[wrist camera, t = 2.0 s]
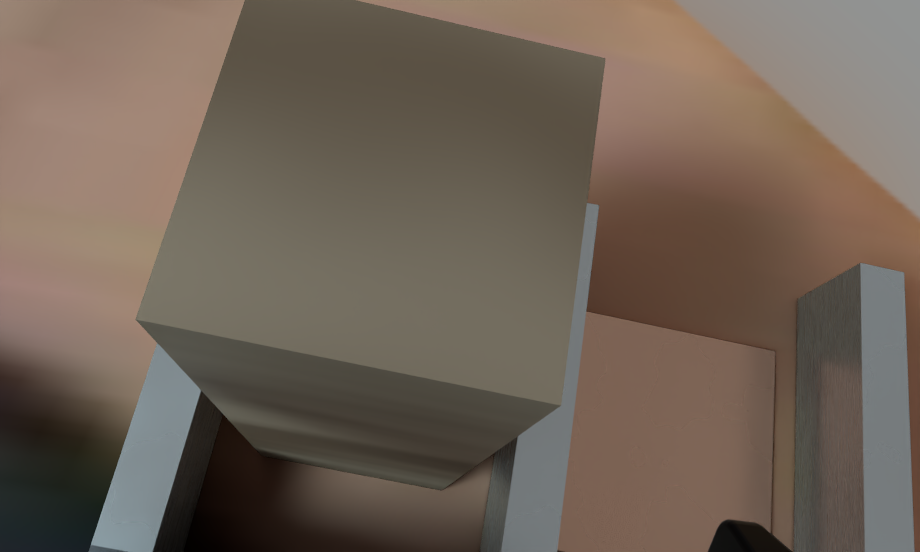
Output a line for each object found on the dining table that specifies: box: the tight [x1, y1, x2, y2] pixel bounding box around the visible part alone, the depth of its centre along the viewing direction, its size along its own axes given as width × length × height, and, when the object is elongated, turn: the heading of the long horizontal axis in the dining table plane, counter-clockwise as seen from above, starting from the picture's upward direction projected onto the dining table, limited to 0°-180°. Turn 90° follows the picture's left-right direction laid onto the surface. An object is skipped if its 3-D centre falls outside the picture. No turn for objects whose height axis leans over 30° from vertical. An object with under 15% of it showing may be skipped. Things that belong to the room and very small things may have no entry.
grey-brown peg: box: [136, 0, 605, 490], centre depth 15 cm, size 5×5×12 cm
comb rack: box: [89, 203, 915, 552], centre depth 19 cm, size 11×18×3 cm, turn 80°
